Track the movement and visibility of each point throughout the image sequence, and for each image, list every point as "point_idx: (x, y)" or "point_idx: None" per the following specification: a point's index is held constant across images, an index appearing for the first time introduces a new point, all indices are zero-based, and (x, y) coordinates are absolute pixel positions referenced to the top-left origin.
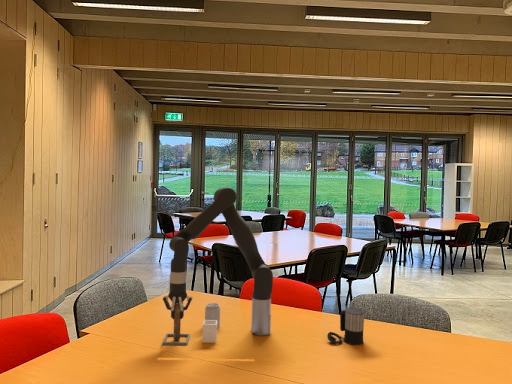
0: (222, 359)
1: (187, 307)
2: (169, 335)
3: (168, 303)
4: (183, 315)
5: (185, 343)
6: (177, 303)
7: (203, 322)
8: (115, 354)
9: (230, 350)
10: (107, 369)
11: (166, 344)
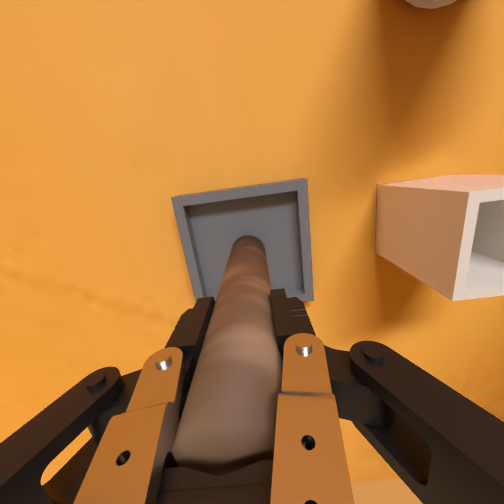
0: (455, 374)
1: (403, 434)
2: (193, 204)
3: (47, 461)
4: (303, 312)
5: (304, 299)
6: (219, 448)
7: (459, 259)
8: None
9: (500, 298)
10: None
11: None
